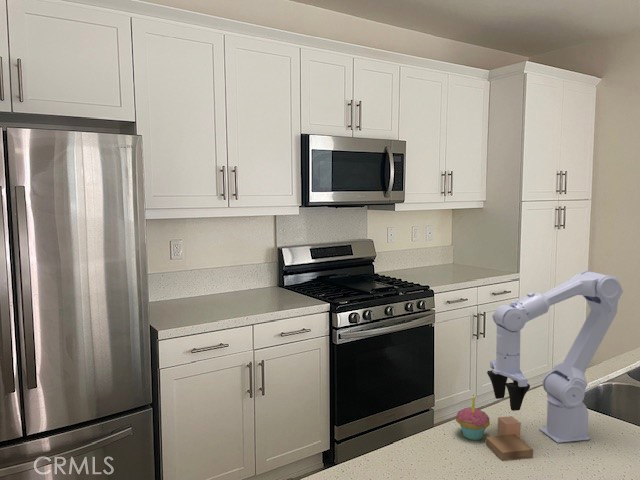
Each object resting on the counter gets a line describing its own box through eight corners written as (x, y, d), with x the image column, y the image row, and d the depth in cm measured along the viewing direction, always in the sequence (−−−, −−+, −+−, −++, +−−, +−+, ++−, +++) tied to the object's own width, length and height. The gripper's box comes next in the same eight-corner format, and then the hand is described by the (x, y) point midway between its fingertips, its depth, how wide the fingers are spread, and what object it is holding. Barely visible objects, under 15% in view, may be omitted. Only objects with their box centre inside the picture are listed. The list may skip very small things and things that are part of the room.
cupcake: (491, 444, 130) (492, 398, 129) (456, 441, 131) (457, 396, 130) (487, 429, 138) (488, 386, 137) (454, 427, 140) (455, 384, 139)
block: (511, 434, 135) (512, 416, 135) (520, 441, 131) (520, 422, 131) (497, 435, 135) (498, 417, 134) (505, 443, 131) (506, 424, 130)
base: (514, 441, 131) (514, 434, 131) (532, 457, 123) (533, 449, 123) (485, 444, 130) (485, 437, 130) (502, 460, 122) (502, 452, 122)
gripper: (479, 345, 137) (479, 394, 138) (509, 362, 123) (508, 417, 124) (504, 343, 139) (503, 392, 140) (535, 360, 124) (534, 414, 125)
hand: (507, 403), depth 132 cm, fingers open, 7 cm apart
